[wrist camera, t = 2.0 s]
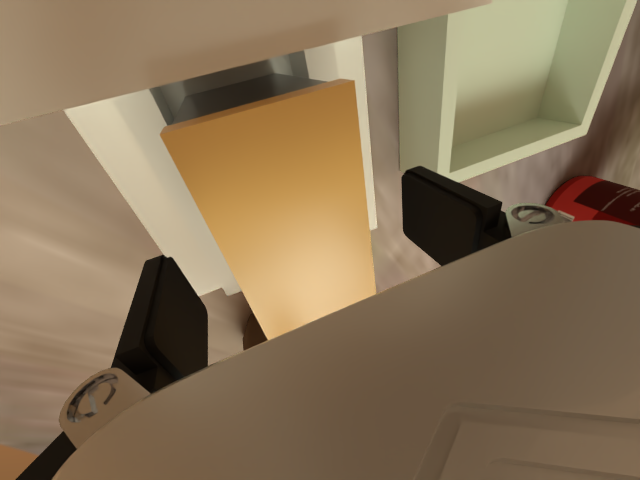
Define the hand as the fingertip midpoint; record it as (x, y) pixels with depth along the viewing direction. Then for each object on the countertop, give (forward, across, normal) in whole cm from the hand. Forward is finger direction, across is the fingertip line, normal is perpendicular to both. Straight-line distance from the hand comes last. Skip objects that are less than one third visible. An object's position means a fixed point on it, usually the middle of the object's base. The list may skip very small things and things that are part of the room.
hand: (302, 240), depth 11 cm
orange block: (+9, 0, -1) cm, 9 cm away
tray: (+10, -18, -4) cm, 21 cm away
